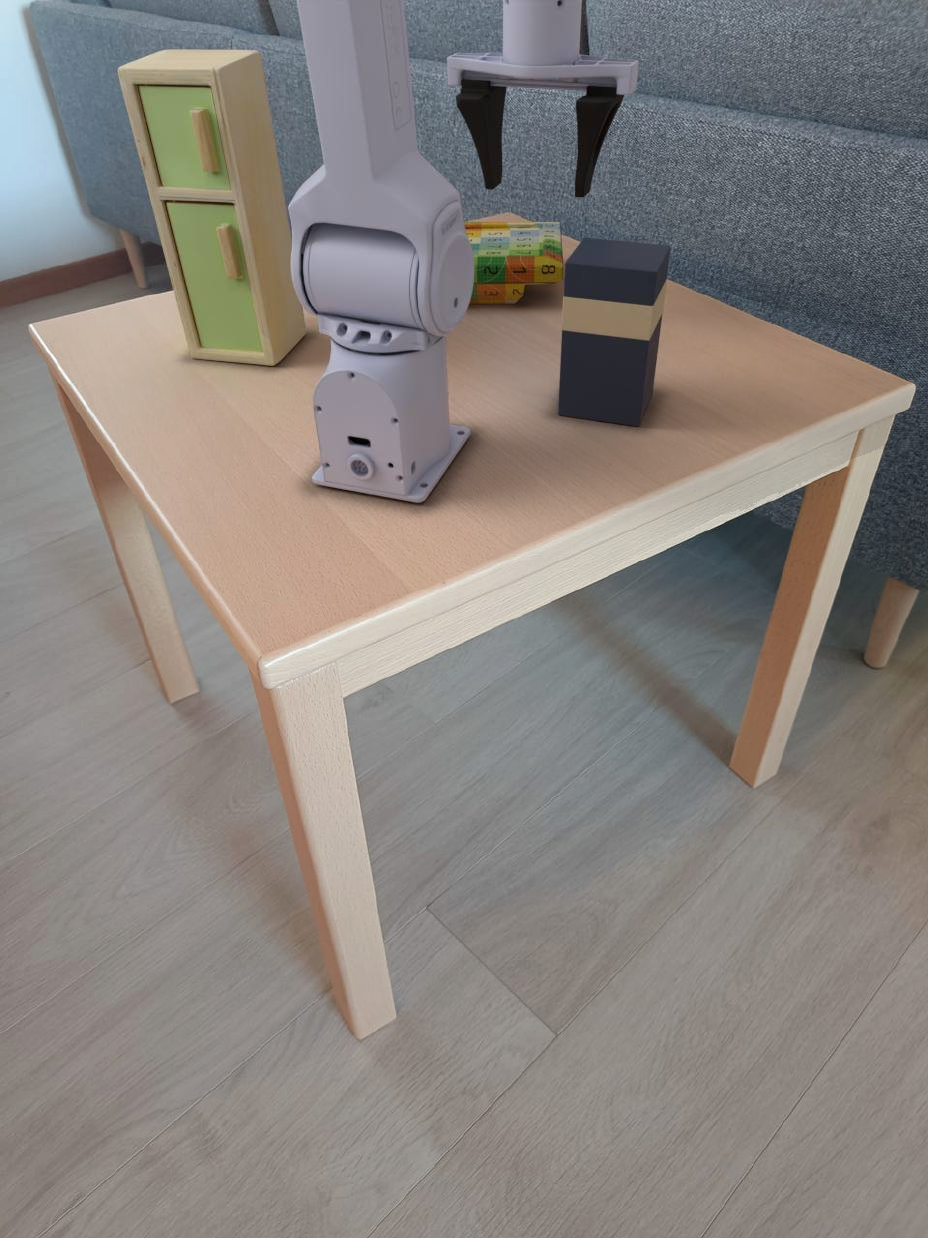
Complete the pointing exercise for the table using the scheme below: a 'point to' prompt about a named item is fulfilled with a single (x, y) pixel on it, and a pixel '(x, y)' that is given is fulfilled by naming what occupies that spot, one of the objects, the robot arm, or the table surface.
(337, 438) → the robot arm
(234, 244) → the toy refrigerator
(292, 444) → the table surface
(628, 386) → the carton
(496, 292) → the puzzle game
